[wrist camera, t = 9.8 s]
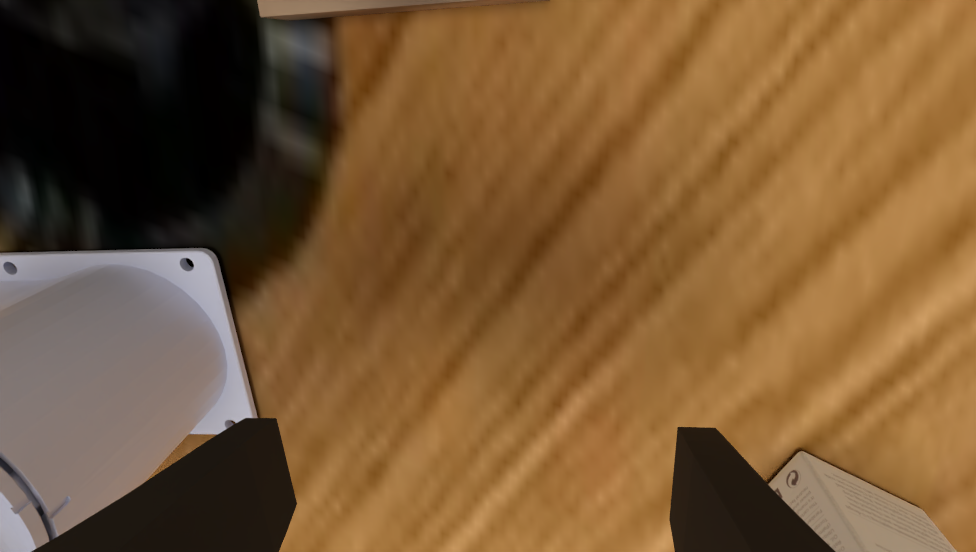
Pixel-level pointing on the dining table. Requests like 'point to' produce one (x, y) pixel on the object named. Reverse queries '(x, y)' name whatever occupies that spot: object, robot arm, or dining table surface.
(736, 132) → the dining table surface
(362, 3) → the tower base
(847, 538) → the skincare box
